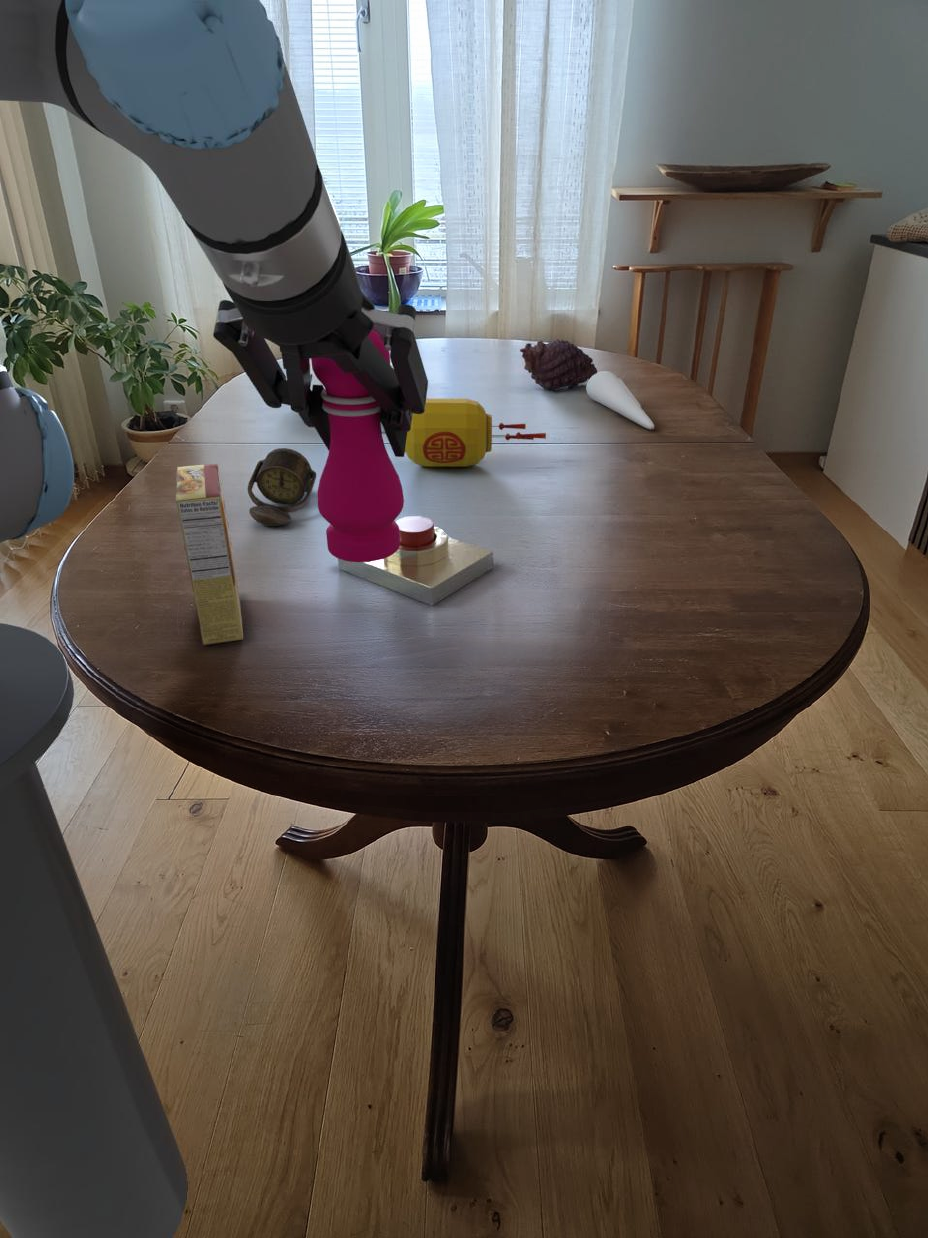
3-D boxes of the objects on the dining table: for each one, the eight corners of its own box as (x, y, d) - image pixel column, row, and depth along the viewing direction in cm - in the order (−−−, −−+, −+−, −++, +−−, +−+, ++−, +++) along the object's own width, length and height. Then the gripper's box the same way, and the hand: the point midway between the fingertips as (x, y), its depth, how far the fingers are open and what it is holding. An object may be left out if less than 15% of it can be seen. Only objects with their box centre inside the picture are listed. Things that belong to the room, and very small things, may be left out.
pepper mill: (307, 559, 66) (279, 307, 56) (342, 525, 72) (322, 291, 62) (388, 570, 64) (374, 312, 54) (417, 534, 70) (409, 296, 60)
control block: (338, 569, 91) (335, 537, 89) (402, 536, 98) (400, 506, 96) (432, 606, 83) (431, 572, 81) (492, 568, 91) (493, 536, 89)
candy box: (200, 603, 84) (173, 466, 76) (241, 598, 85) (218, 461, 77) (202, 647, 77) (172, 500, 69) (247, 640, 78) (222, 494, 70)
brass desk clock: (340, 460, 106) (279, 434, 109) (284, 483, 96) (217, 454, 98) (332, 508, 110) (273, 482, 112) (277, 535, 99) (213, 506, 102)
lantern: (545, 386, 118) (344, 386, 118) (550, 420, 111) (337, 420, 111) (540, 444, 125) (351, 444, 125) (545, 480, 118) (344, 479, 118)
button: (387, 541, 89) (386, 525, 87) (412, 529, 91) (412, 512, 90) (416, 552, 86) (416, 535, 85) (442, 538, 89) (441, 522, 88)
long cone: (617, 442, 134) (583, 399, 149) (652, 443, 136) (614, 401, 151) (625, 410, 131) (589, 370, 146) (661, 412, 132) (621, 371, 147)
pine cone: (579, 375, 167) (604, 338, 159) (590, 409, 162) (616, 373, 154) (505, 358, 159) (527, 319, 151) (515, 394, 154) (538, 355, 147)
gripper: (118, 304, 45) (260, 475, 67) (427, 313, 43) (468, 487, 65) (144, 194, 47) (274, 396, 69) (443, 197, 45) (477, 405, 67)
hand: (368, 440), depth 67 cm, fingers closed on pepper mill, 5 cm apart
